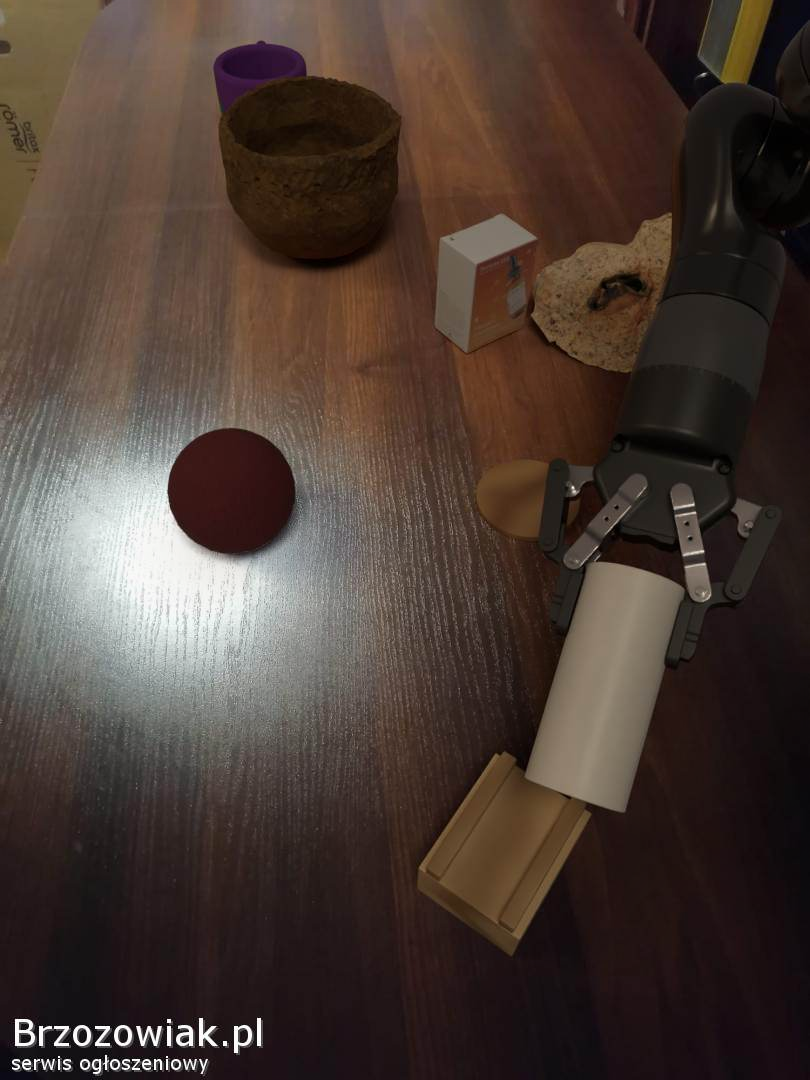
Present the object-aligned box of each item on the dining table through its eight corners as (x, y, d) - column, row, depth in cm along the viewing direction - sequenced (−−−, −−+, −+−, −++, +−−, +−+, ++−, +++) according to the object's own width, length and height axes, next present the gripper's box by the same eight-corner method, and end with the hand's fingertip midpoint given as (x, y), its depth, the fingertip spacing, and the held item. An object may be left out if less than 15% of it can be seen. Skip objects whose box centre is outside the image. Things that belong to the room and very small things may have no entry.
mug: (312, 162, 110) (306, 81, 102) (222, 165, 109) (210, 83, 102) (309, 99, 121) (303, 21, 113) (227, 101, 120) (216, 23, 112)
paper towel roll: (686, 600, 52) (686, 579, 47) (627, 813, 50) (621, 815, 45) (592, 576, 55) (583, 553, 49) (532, 779, 52) (515, 777, 47)
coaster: (596, 492, 76) (598, 487, 75) (547, 558, 71) (548, 553, 71) (508, 449, 79) (509, 444, 78) (455, 510, 74) (456, 505, 74)
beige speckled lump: (590, 423, 90) (591, 392, 83) (517, 322, 95) (512, 285, 88) (738, 332, 90) (752, 293, 82) (657, 235, 94) (664, 190, 87)
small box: (466, 356, 87) (474, 265, 79) (432, 327, 90) (437, 237, 81) (526, 327, 90) (540, 237, 82) (491, 300, 93) (502, 210, 84)
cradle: (580, 836, 57) (595, 807, 53) (511, 956, 52) (521, 935, 48) (490, 777, 59) (497, 746, 55) (416, 888, 55) (418, 862, 51)
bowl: (400, 295, 93) (402, 162, 81) (226, 293, 93) (203, 159, 81) (399, 201, 105) (401, 73, 93) (245, 199, 104) (227, 70, 93)
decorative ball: (304, 487, 76) (295, 402, 68) (295, 579, 69) (284, 497, 62) (190, 485, 75) (167, 400, 68) (171, 578, 69) (143, 496, 61)
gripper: (570, 341, 52) (486, 605, 49) (826, 383, 47) (749, 681, 44) (583, 393, 59) (510, 628, 56) (808, 435, 54) (740, 695, 51)
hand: (616, 649), depth 50 cm, fingers closed on paper towel roll, 5 cm apart
